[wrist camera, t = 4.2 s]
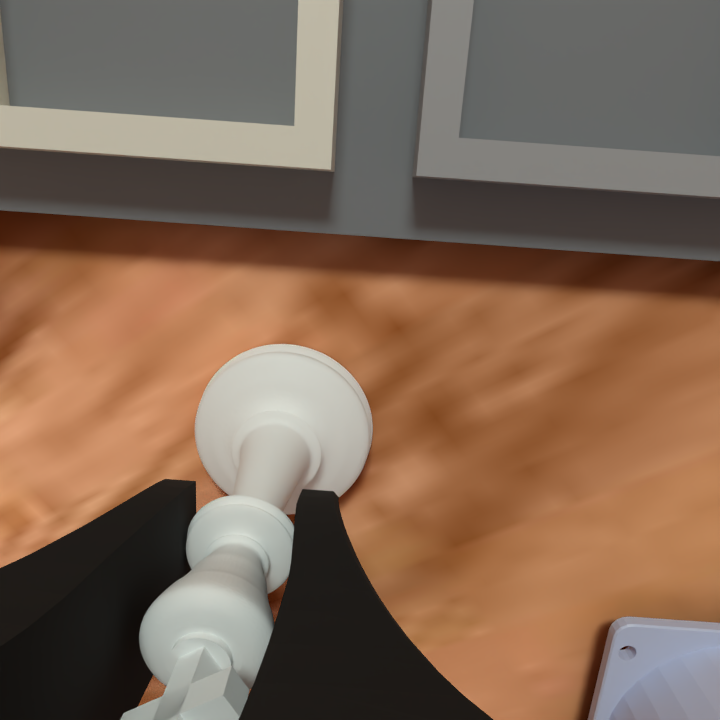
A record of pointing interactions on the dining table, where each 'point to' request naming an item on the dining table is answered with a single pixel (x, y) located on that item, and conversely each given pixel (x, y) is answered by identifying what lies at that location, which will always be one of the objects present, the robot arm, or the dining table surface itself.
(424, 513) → the dining table surface
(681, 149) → the socket board
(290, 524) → the chess piece
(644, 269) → the dining table surface
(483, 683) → the dining table surface
